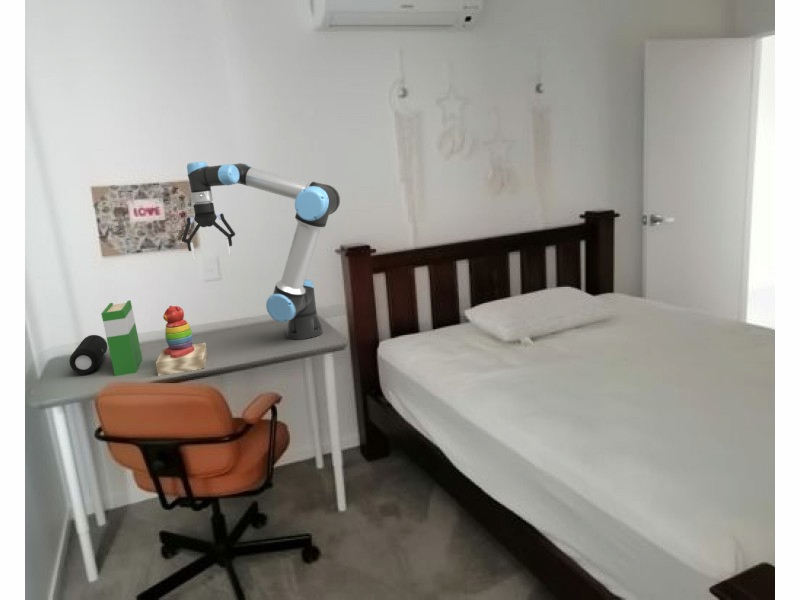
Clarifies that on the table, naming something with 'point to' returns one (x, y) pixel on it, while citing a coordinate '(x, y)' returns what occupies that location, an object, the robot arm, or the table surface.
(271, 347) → the table surface
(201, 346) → the wooden block
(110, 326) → the hardback book
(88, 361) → the portable speaker
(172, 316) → the stacking bear
